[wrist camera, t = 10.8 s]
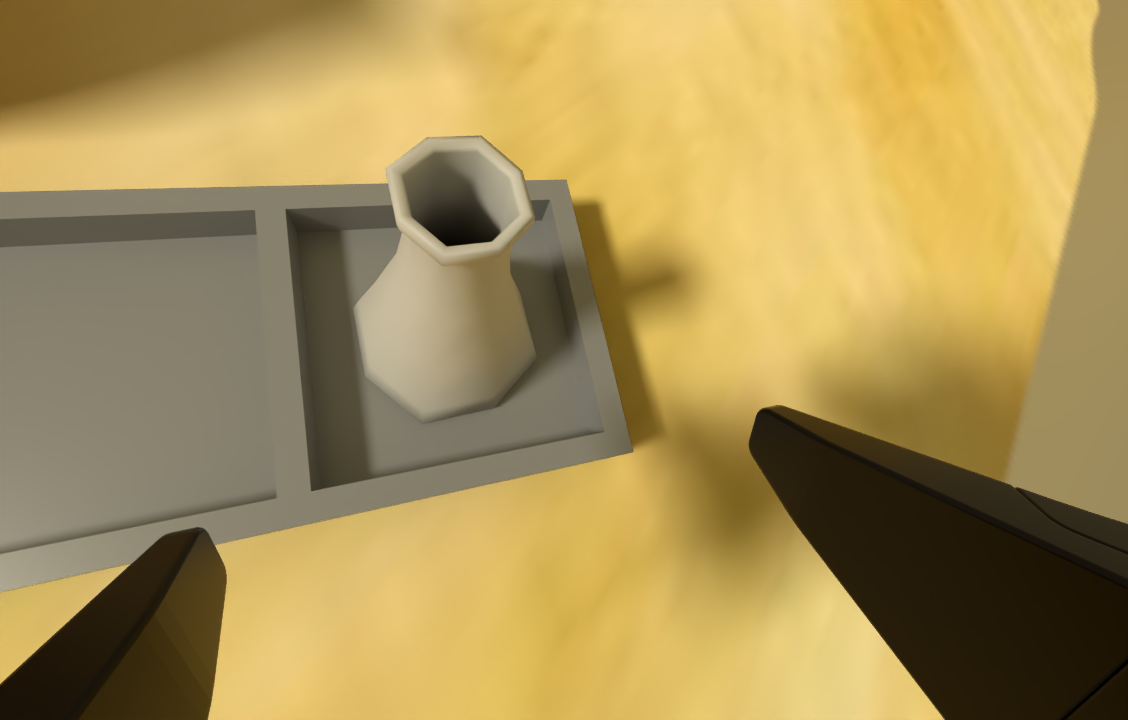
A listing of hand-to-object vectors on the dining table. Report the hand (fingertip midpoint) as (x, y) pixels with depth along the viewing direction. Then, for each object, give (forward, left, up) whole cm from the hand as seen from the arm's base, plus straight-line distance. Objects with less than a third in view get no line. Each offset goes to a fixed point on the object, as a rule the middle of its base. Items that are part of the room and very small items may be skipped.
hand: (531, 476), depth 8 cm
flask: (+2, +6, -12) cm, 13 cm away
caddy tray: (-3, +8, -12) cm, 15 cm away
